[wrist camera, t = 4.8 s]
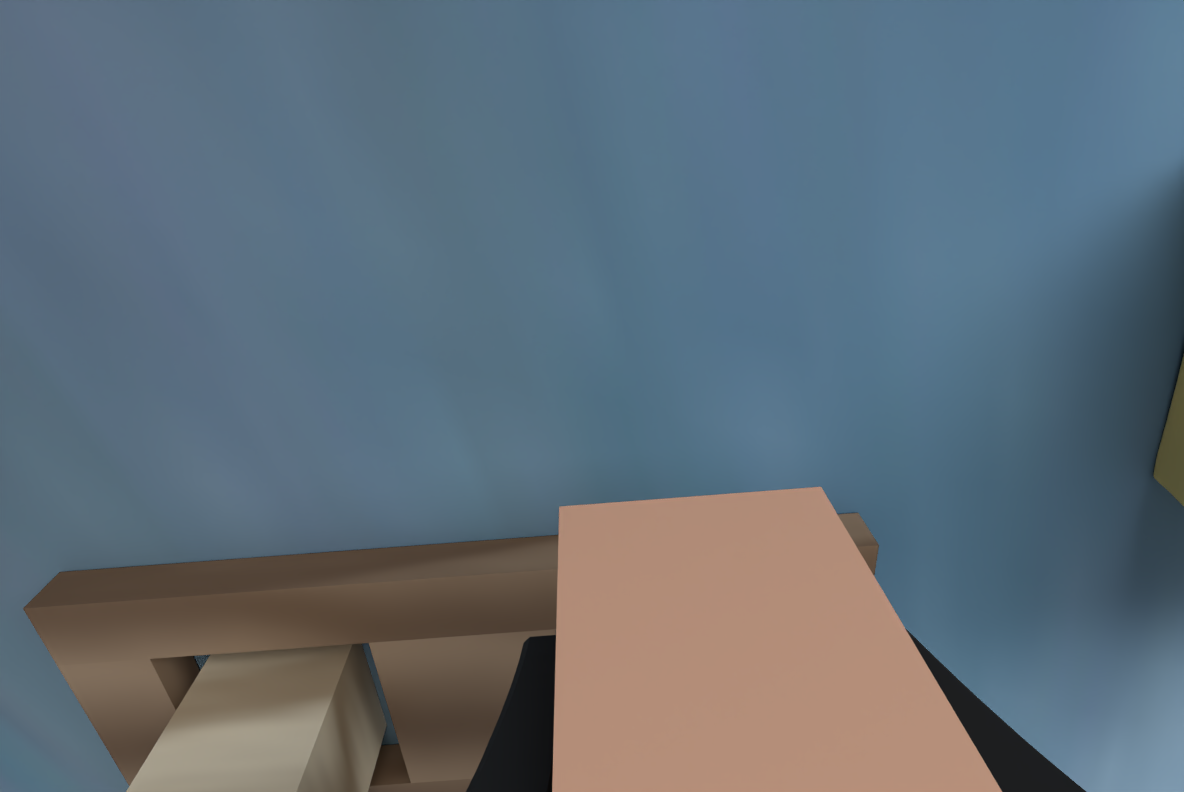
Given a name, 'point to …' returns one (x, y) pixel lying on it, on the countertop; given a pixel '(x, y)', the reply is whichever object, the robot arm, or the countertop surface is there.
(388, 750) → the puzzle board
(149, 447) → the countertop surface
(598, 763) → the terracotta block
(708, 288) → the countertop surface
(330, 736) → the maple block
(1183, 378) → the cheese
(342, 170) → the countertop surface
